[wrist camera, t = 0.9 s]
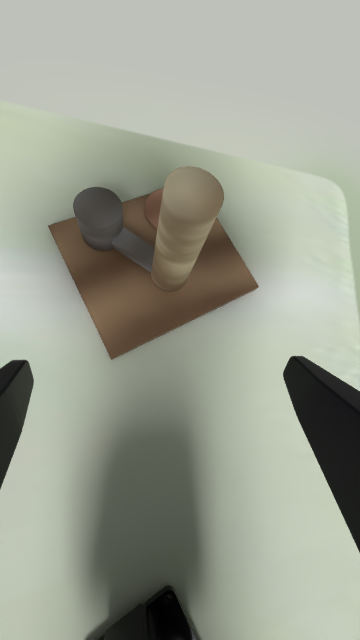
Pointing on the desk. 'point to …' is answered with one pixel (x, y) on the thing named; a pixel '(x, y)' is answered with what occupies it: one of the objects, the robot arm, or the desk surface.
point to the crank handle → (173, 227)
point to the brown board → (148, 279)
